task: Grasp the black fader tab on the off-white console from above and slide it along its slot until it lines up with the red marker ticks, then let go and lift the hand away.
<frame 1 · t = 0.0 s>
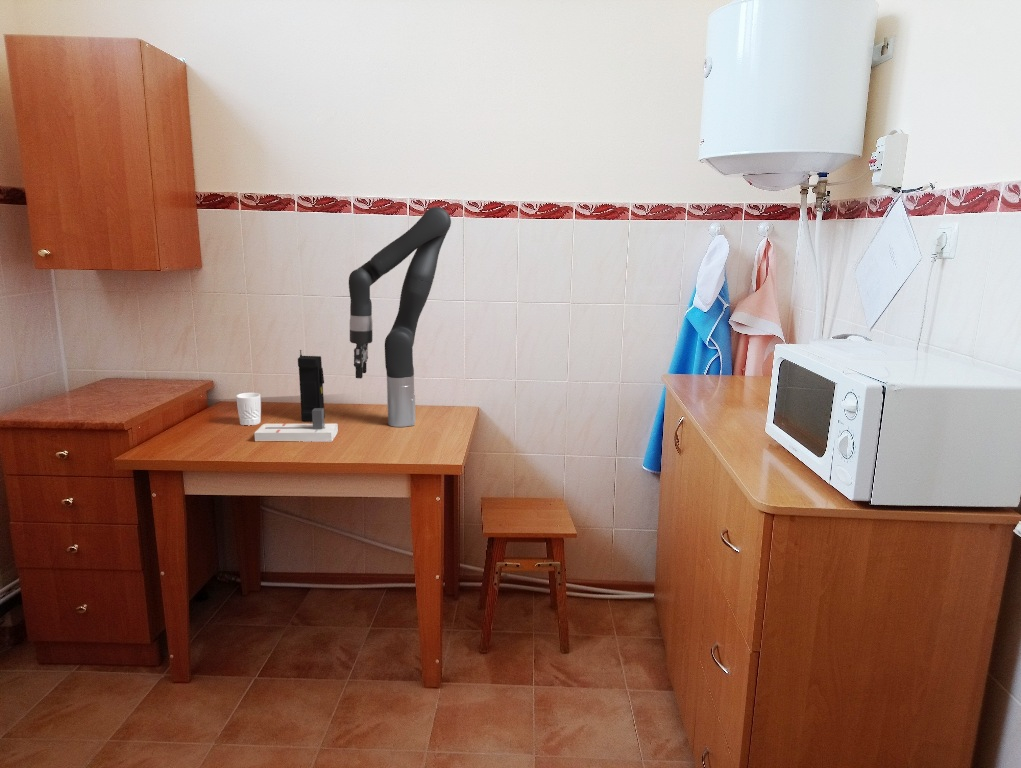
hand: (361, 375, 235), 17 cm above the table, tool pointing down, fingers open, 8 cm apart
portable radio: (314, 420, 243), on the table
white cup: (250, 423, 238), on the table
console: (297, 436, 224), on the table
fader tab: (318, 418, 223), point 6 cm above the table, slide at 0.0 cm
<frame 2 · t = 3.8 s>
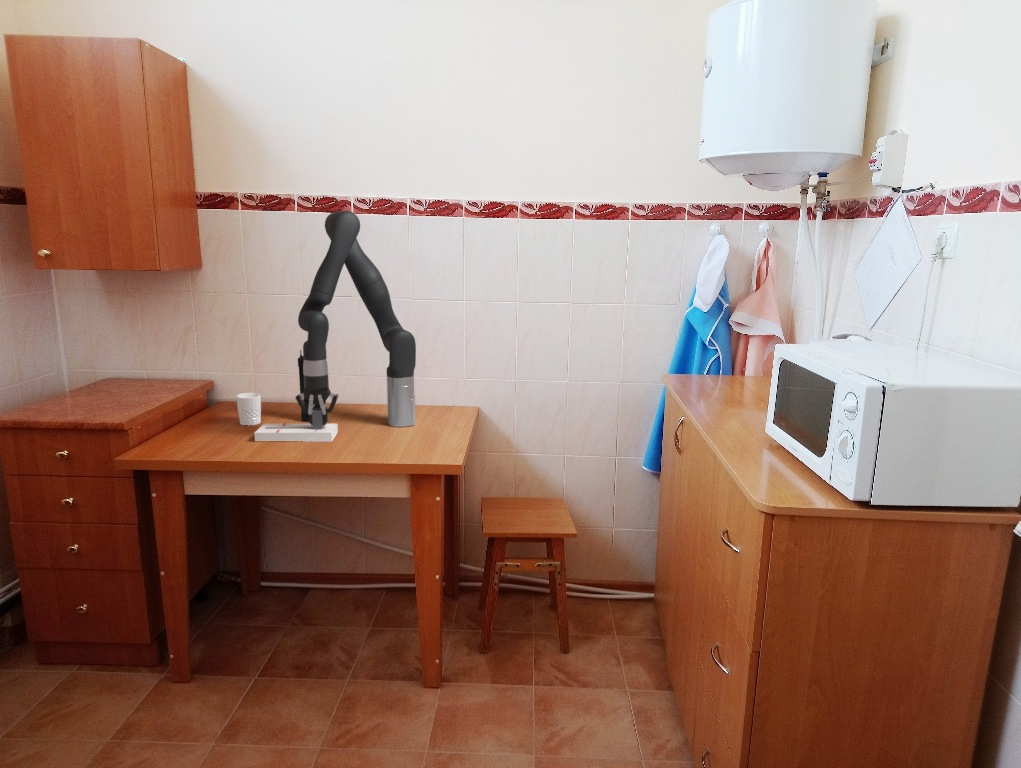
hand: (318, 424, 223), 4 cm above the table, tool pointing down, fingers closed on fader tab, 3 cm apart
fader tab: (318, 418, 223), point 6 cm above the table, slide at 0.0 cm, touching gripper
everything else where it was.
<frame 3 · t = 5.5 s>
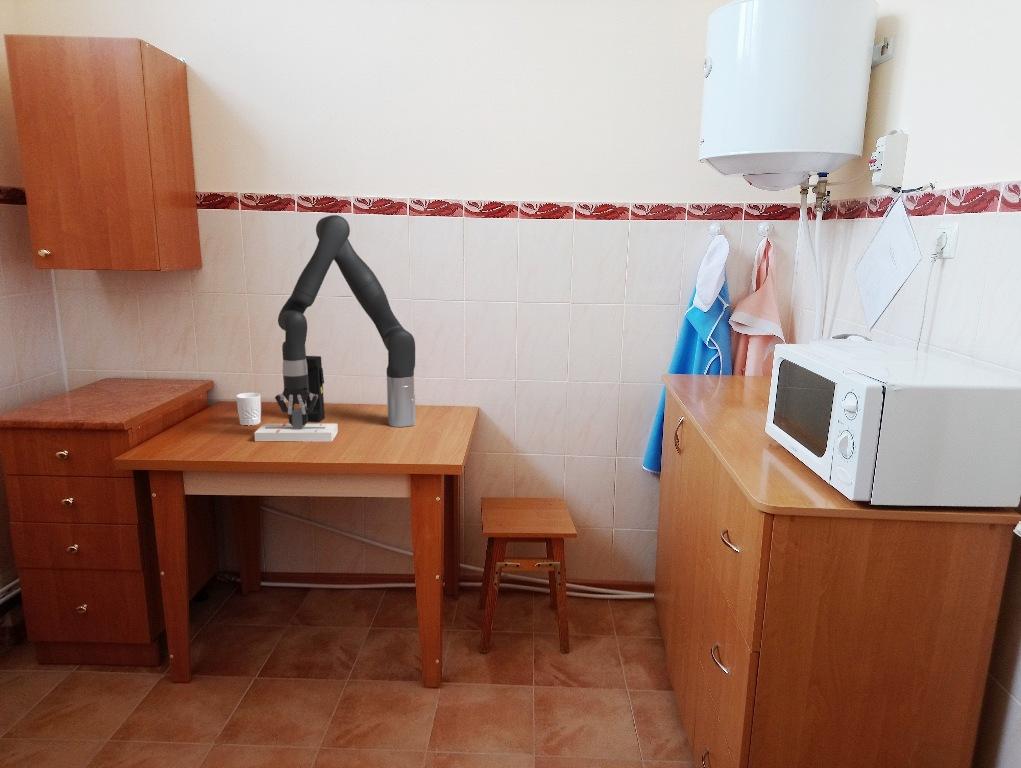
hand: (298, 424, 223), 4 cm above the table, tool pointing down, fingers closed on fader tab, 3 cm apart
fader tab: (298, 418, 222), point 6 cm above the table, slide at 6.4 cm, touching gripper
everything else where it was.
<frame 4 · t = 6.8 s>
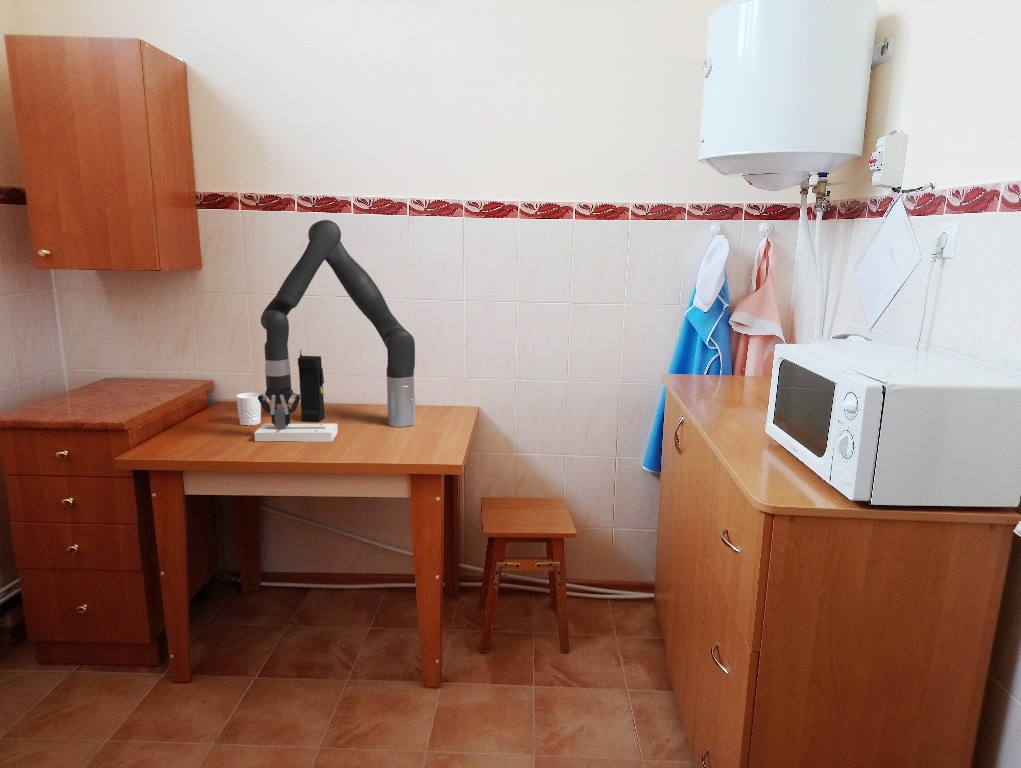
hand: (281, 424, 222), 4 cm above the table, tool pointing down, fingers closed on fader tab, 3 cm apart
fader tab: (281, 418, 222), point 6 cm above the table, slide at 11.9 cm, touching gripper
everything else where it was.
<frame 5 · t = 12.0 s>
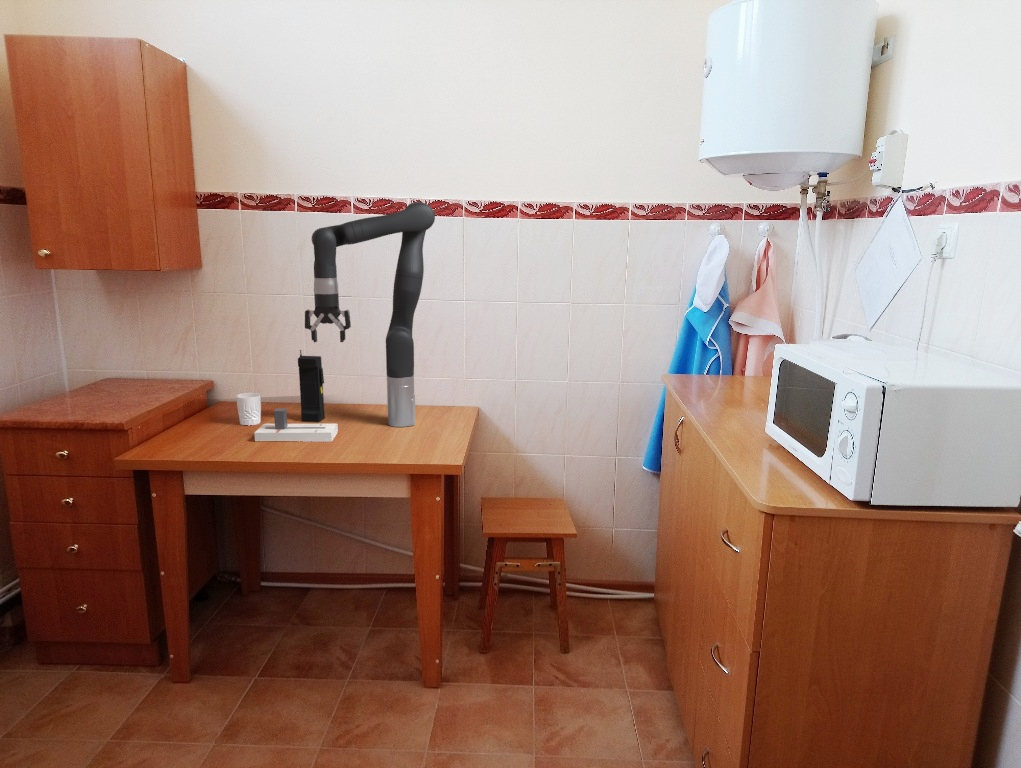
hand: (328, 341, 224), 30 cm above the table, tool pointing down, fingers open, 8 cm apart
fader tab: (280, 418, 222), point 6 cm above the table, slide at 11.9 cm
everything else where it was.
at the end: fader tab slide at 11.9 cm; the gripper is holding nothing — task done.
